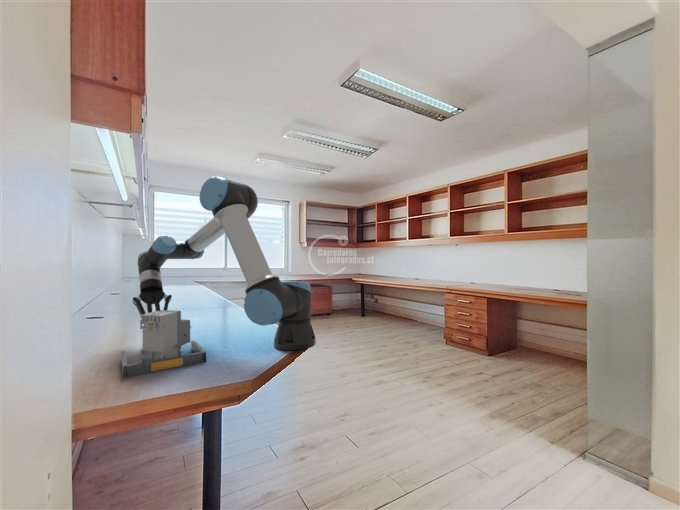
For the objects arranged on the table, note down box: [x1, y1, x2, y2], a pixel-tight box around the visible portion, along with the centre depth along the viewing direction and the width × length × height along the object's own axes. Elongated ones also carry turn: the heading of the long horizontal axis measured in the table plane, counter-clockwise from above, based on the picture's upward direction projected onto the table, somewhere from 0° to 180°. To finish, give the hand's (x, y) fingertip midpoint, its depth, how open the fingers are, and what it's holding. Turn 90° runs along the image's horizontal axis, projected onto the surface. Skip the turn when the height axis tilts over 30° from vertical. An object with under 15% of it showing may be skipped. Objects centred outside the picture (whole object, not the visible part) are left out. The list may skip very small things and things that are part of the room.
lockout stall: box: [120, 340, 207, 379], centre depth 96 cm, size 17×21×3 cm
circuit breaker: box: [139, 309, 192, 363], centre depth 99 cm, size 8×14×15 cm, turn 169°
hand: (156, 335), depth 109 cm, fingers closed
